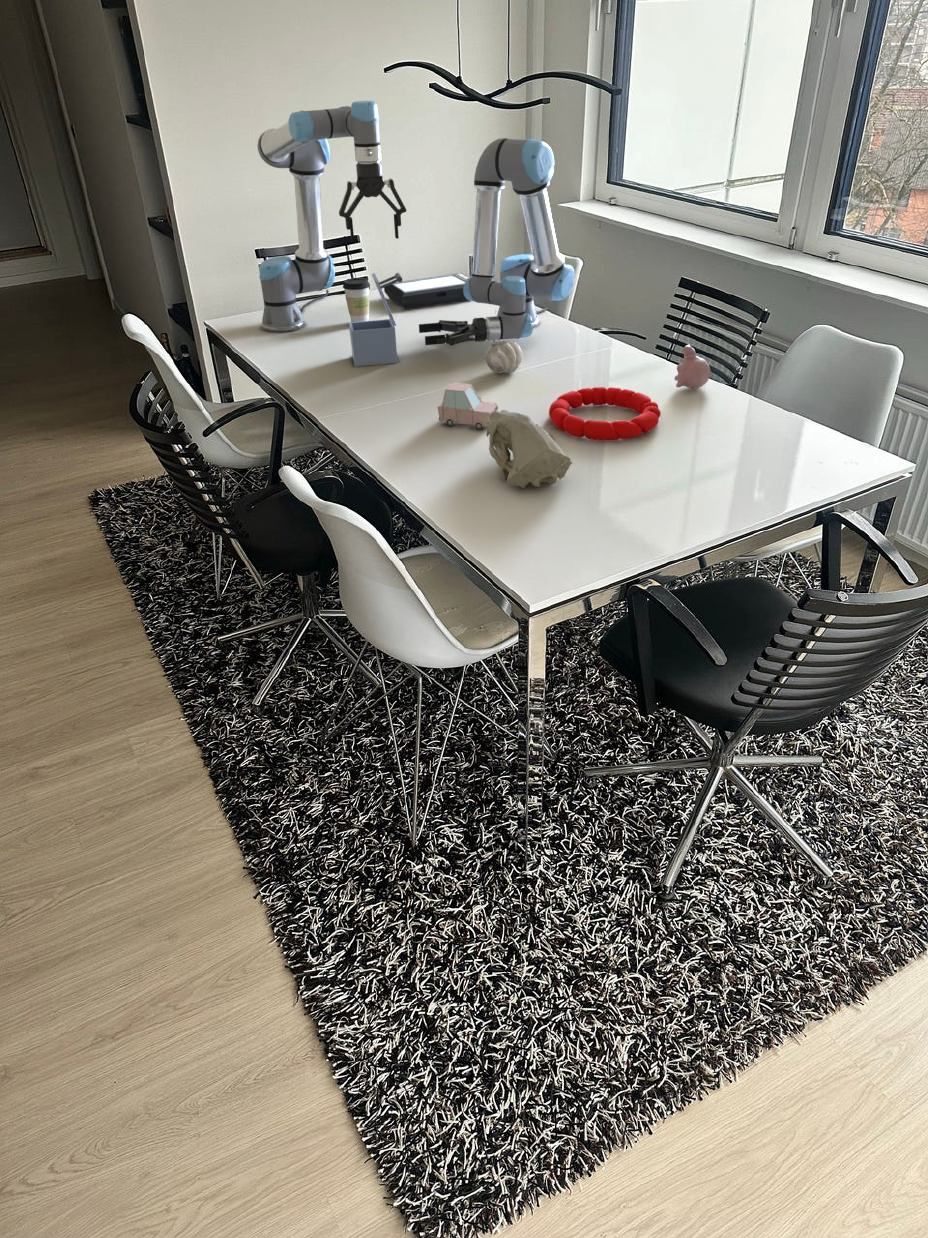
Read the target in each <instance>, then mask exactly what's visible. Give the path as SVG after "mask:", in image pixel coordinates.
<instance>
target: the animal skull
mask: <svg viewBox="0 0 928 1238" xmlns="http://www.w3.org/2000/svg"><path fill="white" fill-rule="evenodd" d="M485 436H486V438H487V437H489V438H488V440H489V444H488V445H489V446H488V450H489V454H490V456H491V457H492V458H493V459H494V460H495V462H496V464H497V466H499V468H500V470H501V471H502V472H501V478H502V479H507V480H506V484H507V486H517V487H518V486H519V488H523V489H524V488H526V486H527V485H529V483H531V485H533V486H534V487H536V488H540V485H541V484H542V482H544V483H549V484H550V485H553V484H555V483H556V482H557V480H561V479H563V478H565V476H566V474H567V472H568V471H569V469H570V467H571V466H572V464H573V462H572V461H571V458H570V457H568V456H567V455H565V453H564V451H562V449H561V448H560V446H559V444H557V443H556V439H555V438H554V436H553V435H551V434H550V433H548V432H547V431H546V430H545V429H544V428H542V427H541V426H539V425H538V424H537V423H536V424H535V422H534V421H533V419H532V418H531V417H530V416H529V415H527V414H524V413H519V412H515V411H509V410H507V409H502V410H500V411H499V410H497V411H496V412H492V413H491V414H490V422H488V423H487V427H486V435H485ZM511 453H512V454H511ZM511 455H512V457H513V458H512V460H511ZM507 474H508V475H507Z"/></svg>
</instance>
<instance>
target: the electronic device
mask: <svg viewBox="0 0 928 1238" xmlns="http://www.w3.org/2000/svg"><path fill="white" fill-rule="evenodd" d="M467 279H468V278H465V277H464V276H462V275H460V274H457V273H452V274H445V275H438V276H431V277H424V278H416V279H409V280H402V282H396V283H393V284H391V285H389V286H386V287H384V288H383V293H385V295H386V296H387V297H388V299H389V300H390V301H391V302H393V303H395V304H396V305H398V306H399V307H401V308H402V309H404V310H405V311H406V310H410V309H412V310H413V309H417V308H424V307H432V306H439V305H445V304H446V305H447V304H451V303H452V304H453V303H459V302H465V301H469V300H468V299H466V298H465V296H464V292H463V288H464V285H465V281H466V280H467Z"/></svg>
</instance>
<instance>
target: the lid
mask: <svg viewBox="0 0 928 1238" xmlns="http://www.w3.org/2000/svg"><path fill="white" fill-rule="evenodd" d="M371 276H372V279H373V281H374V283H375V285H376V288H377V290H378V293H379V295H380V298H381V300H382V303H383V306H384V308H385V310H386V313H387V315H388V317H389V318H388V319H390V320H391V322H392V324H393V327H397V324H396V321H395V319H394V316H393V314H392V311H391V309H390V307H389V304H388V301H387V299H386V296H385V294H384V291H383V289H384V287H386V286H389V285H391V284H393V283H396V282H402V281H403V277H402V275H401V274H400V272H396V273H395V274H394V275H393V276H390V277H388V278H386V279H383V280H381V281H379V279H378V278H377V275H376V273H375V272H373V273H371Z"/></svg>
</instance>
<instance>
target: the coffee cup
mask: <svg viewBox="0 0 928 1238" xmlns="http://www.w3.org/2000/svg"><path fill="white" fill-rule="evenodd" d="M370 287H371V283H370V282H369V279H367V278H365V277H351V278H347V279H345V280H344V281H343V285H342V288H343V290H344V297H345V301H346V305H347V310H348V314H349V318H350V322H361V321H369V317H370V316H369V313H370Z"/></svg>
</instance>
